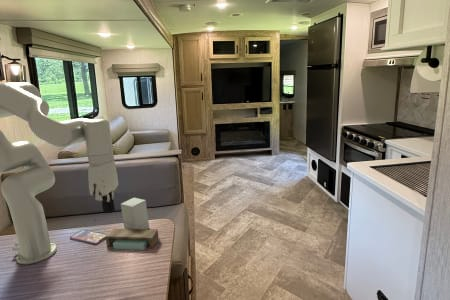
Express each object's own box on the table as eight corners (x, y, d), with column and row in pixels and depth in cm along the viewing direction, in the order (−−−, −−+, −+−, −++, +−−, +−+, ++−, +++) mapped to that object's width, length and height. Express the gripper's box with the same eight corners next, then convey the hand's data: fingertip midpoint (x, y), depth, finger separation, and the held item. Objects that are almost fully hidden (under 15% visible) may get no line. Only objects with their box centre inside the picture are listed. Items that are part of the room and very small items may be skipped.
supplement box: (149, 227, 125) (146, 199, 122) (136, 235, 119) (132, 206, 116) (137, 223, 129) (134, 196, 126) (124, 231, 122) (119, 203, 119)
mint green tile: (113, 248, 110) (112, 242, 109) (121, 240, 116) (120, 234, 115) (144, 249, 108) (143, 244, 108) (150, 241, 114) (149, 235, 113)
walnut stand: (107, 246, 112) (105, 236, 111) (114, 237, 118) (113, 228, 117) (152, 247, 109) (151, 237, 108) (158, 239, 115) (157, 229, 114)
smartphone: (83, 231, 126) (110, 236, 120) (68, 239, 119) (96, 245, 113) (83, 229, 126) (110, 234, 120) (68, 237, 119) (96, 243, 113)
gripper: (103, 152, 101) (110, 202, 105) (75, 165, 87) (85, 222, 91) (123, 152, 100) (130, 202, 104) (99, 165, 86) (107, 222, 90)
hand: (109, 211), depth 98 cm, fingers closed
